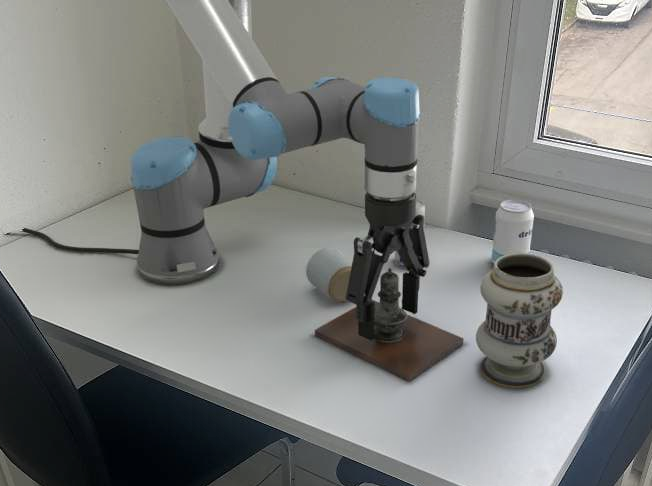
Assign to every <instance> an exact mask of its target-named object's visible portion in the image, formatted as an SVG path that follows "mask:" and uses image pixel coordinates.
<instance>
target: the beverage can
mask: <svg viewBox="0 0 652 486" xmlns="http://www.w3.org/2000/svg"><path fill="white" fill-rule="evenodd" d="M534 218H535V215H534V211H533V210H532V204H531V203H529V202H527V201H525V200H520V199H507V200H504V201H502V202H501V203H500V206H499V207H498V209H497V210H496V212H495V219H494V230H493V240H492V251H491V262H492V263H493V264H494V263H495V261H496V260H497V259H498V258H500V257H502V256H505V255H509V254H515V253H526V254H530V250H531V242H532V234H533V226H534V220H535V219H534Z"/></svg>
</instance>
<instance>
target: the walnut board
mask: <svg viewBox="0 0 652 486" xmlns="http://www.w3.org/2000/svg"><path fill="white" fill-rule="evenodd" d="M371 301H372V302H375V309H377V308H379V306H380V301H377V300H374V299H373V298H372V299H371ZM356 315H357V314H356V306H355V307H353V308H351V309H349V310H347V311H345V312H344V313H343V314H342V313H341V315H339V316H337V317H335V318H333V319H332V320H330V321H328V322H326V323H325V324H322V325H321V326H319V327H318V328H317V327H316V328H315V329H314V337H316V338H317V339H320V340H322V341H323V342H326V343H328V344H330V345H332V346H334V347H337V348H339V349H340V350H343V351H345V352H347V353H349V354H351V355H353V356H355V357H357V358H359V359H361V360H364V361H366V362H368V363H369V364H372V365H373V366H376V367H378V368H380V369H381V370H383V371H386V372H387V373H390V374H392V375H394V376H397V377H398V378H401V379H403V380H405V381H407V382H411V381H413V380H415V378H417V377H418V376H420V375H422V373H424V372H426V371H427V370H428V369H430V368H431V367H433V366H434V365H436V364H437V363H438V362H440V361H441V360H443V359H444V358H446V357H447V356H449V355H450V354H452V353H453V352H455V351H456V350H458V349H459V348H460V347H462V346H463V345H464V338H463V337H461V336H459V335H457V334H455V333H452V332H451V331H447V330H445V329H443V328H440V327H438V326H435V325H433V324H431V323H429V322H426V321H424V320H422V319H419V318H417V317H414V316H412V315H409V314H407V319H406V320H405V323H404V325H403V327H402V328H401V329H403V330H404V332H405V336H404V338H403V339H402V340H400V341H398V342H393V343H385V342H380V341H378V340H376V339H375V338H374V339H373V340H372V341H371V340H369V339H366V338H364V337H362V336H360V335H358V320H357V318H356ZM374 329H376V327H375V325H374Z"/></svg>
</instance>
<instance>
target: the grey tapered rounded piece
mask: <svg viewBox="0 0 652 486" xmlns="http://www.w3.org/2000/svg"><path fill="white" fill-rule="evenodd" d="M399 277H400V276H399V275H398V274H397V273H396V272H394V271H393V269H392V268H391V267H389V268H388V269H387V271H386V272H384V273H382V275H380V278H379V279H380V280H379V281H380V282H379V283H380V287H379V288H380V290H379V291H378V293H377V297H378V298H379V303H380V306H379V308H377V309H375V315H374V325H375V327H376V329H374V338H375V339H376V340H378V341H380V342H385V343H393V342H398V341H400V340H402V339H403V338H404V336H405V332H404V330H403V329H401V328H402V327H403V325H404V323H405V320H406V319H407V315H408V313H407V311H406V310H403V309H402V307H400V306H399V305H400V304H399V303H400V298H401V297H402V292H401V291H399V289H400V287H399V285H400V278H399Z"/></svg>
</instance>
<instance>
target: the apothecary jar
mask: <svg viewBox="0 0 652 486" xmlns="http://www.w3.org/2000/svg"><path fill="white" fill-rule="evenodd" d="M563 289H564V288H563V285H562V283H561V281H560V280H559V278H558V277H557V276H556V275H555V268H554V265H553V263H552V261H550V260H548V259H547V258H545V257H543V256H541V255H537V254H532V253H529V254H526V253H515V254H509V255H505V256H502V257H500V258H498V259H497V260H496V261H495V263H493V267H492V269H491V270H490V271H488V272H487V273H486V275H484V277H483V278H482V280H481V282H480V286H479V290H480V295H481V297H482V298H483V300H484V301H485V302H486V312H485V313H486V315H485V320H484V321H483V322H481V324H480V325H479V326H478V328H477V330H476V334H475V342H476V346H477V347H478V349H479V350H480V352H481V353H482V354H483V355H485V357H484V358H483V359H482V360H481V362H480V371H481V374H482V375H483V376H484V378H485V379H487V380H488V381H490V382H491V383H493V384H495V385H498V386H501V387H506V388H511V389H519V388H520V389H521V388H529V387H531V386H534V385H536V384H538V383H540V382H541V381H542V380H543V378H544V377H545V374H546V369H545V365H544V364H543V362H544V361H547V359H549V358H550V357H551V356H552V355H553V353H554V352H555V350H556V347H557V345H558V339H557V334H556V331H555V330H554V328H553V326H551V317H552V310H554V309H555V308H556V307H557V306H558V305H559V304H560V302H561V301H562V298H563V295H564V290H563Z"/></svg>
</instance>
